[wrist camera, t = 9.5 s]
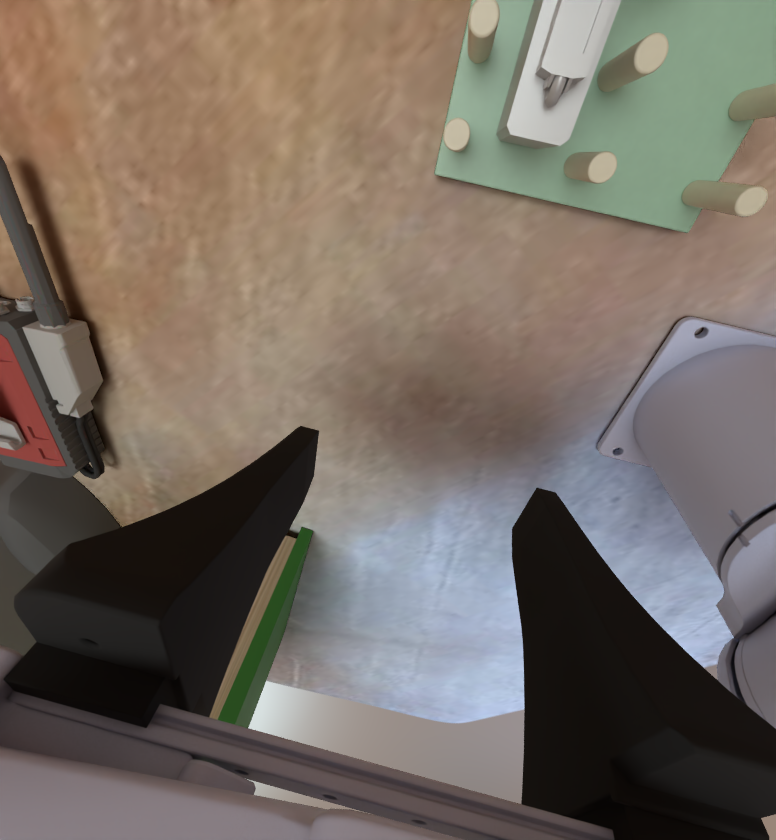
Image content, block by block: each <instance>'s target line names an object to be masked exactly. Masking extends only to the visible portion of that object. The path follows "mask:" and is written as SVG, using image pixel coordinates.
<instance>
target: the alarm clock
mask: <svg viewBox="0 0 776 840" xmlns="http://www.w3.org/2000/svg"><path fill="white" fill-rule="evenodd" d="M118 528H121V527H120V526H119V525H118V523H117V522H116V521H115V519H114V518H113V517H112V516H111V514H110V513H109V512H108V510H107V509H106V508H105V507H104V506H103V505H102V504H101V503H100V502H99V501H98V500H97V499H96V498H95V497H94V496H93V495H92V494H91V493H90V492H89V491H88V490H87V489H86V488H85V487H84V486H83V485H81V484H80V483H79V482H78V481H77V480H76V479H74V478H73V477H70V478H57V477H53V476H48V475H44V474H40V473H35V472H31V471H26V470H22V469H18V468H13V467H9V466H6V465H3V463H2V461H1V460H0V645H1V646H5V647H8V648H10V649H13V650H15V651H17V652H19V653H21V654H22V655H23V656H24V655H25V654H26V653H27V652H28V651H29V650H30V649H31V648H32V646H33V645H34V644H35V643H36V640H35V639H34V637H33V636H32V635H31V633H30V632H29V630H28V629H27V628H26V626H25V625H24V623H23V622H22V621H21V619H20V618H19V616H18V615H17V613H16V611H15V609H14V596H15V595H16V594H17V593H18V592H19V591H20V590H21V589H22V588H23V587H24V586H25V585H26V584H27V583H28V582H29V581H30V580H31V579H32V578H34V577H35V576H36V575H37V574H38V573H39V572H40V571H41V570H42V569H43V568H44V567H45V566H46V565H47V564H48V563H49V562H50V561H51V560H52V559H53V558H54V557H55V556H56V555H57V554H58V553H59V552H61V551H62V550H63V549H64V548H65V547H66V546H67V545H69V544H70V543H73V542H77V541H80V540H84V539H87V538H90V537H93V536H96V535H100V534H103V533H106V532H109V531H112V530H116V529H118Z"/></svg>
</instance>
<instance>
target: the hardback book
mask: <svg viewBox="0 0 776 840" xmlns="http://www.w3.org/2000/svg"><path fill="white" fill-rule="evenodd" d="M312 533H313V531H312V530H309V529H306V528H303V527H302V528H301V530H300V532H299V535H298V537H297V539H296V538H293V537H289V536H285V538H284V539H283V541H282V543H281V545H280V547H279V549H278V551H277V552H276V554H275V556H274V558H273V560H272V562H271V564H270V566H269V568H268V570H267V572H266V574H265V577H264V579H263V581H262V584H261V586H260V589H259V591H258V593H257V596H256V598H255V600H254V603H253V605H252V608H251V610H250V613H249V615H248V618H247V620H246V622H245V625H244V627H243V630H242V632H241V635H240V637H239V640H238V643H237V645H236V648H235V650H234V653H233V655H232V658H231V660H230V663H229V666H228V668H227V671H226V673H225V676H224V679H223V681H222V684H221V687H220V689H219V692H218V695H217V697H216V700H215V703H214V705H213V708H212V711H211V714H210V716H209V718H213V719H216V720H220V721H223V722H227V723H231V724H234V725H238V726H241V727H245V728H248V727H249V724H250V722H251V719H252V716H253V714H254V711H255V708H256V706H257V703H258V700H259V698H260V695H261V693H262V690H263V687H264V685H265V682H266V679H267V677H268V674H269V671H270V669H271V666H272V664H273V661H274V658H275V656H276V653H277V650H278V648H279V645H280V642H281V640H282V637H283V635H284V632H285V628H286V625H287V621H288V618H289V614H290V611H291V607H292V603H293V600H294V596H295V593H296V589H297V586H298V582H299V579H300V575H301V572H302V568H303V565H304V561H305V558H306V554H307V551H308V547H309V544H310V540H311V537H312Z"/></svg>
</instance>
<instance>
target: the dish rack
mask: <svg viewBox="0 0 776 840" xmlns="http://www.w3.org/2000/svg"><path fill="white" fill-rule="evenodd" d="M533 1H534V0H472V1H471V6H470V11H469V15H468V20H467V24H466V29H465V34H464V38H463V43H462V48H461V52H460V57H459V61H458V66H457V71H456V75H455V80H454V85H453V89H452V94H451V98H450V103H449V108H448V112H447V117H446V122H445V126H444V131H443V135H442V140H441V145H440V149H439V154H438V159H437V163H436V168H435V172H434V174H435V175H438V176H442V177H447V178H451V179H455V180H460V181H464V182H468V183H473V184H477V185H481V186H486V187H490V188H494V189H499V190H503V191H507V192H512V193H516V194H520V195H525V196H529V197H533V198H538V199H542V200H546V201H551V202H555V203H559V204H564V205H568V206H572V207H576V208H581V209H585V210H589V211H594V212H598V213H602V214H607V215H611V216H615V217H620V218H624V219H628V220H633V221H637V222H641V223H646V224H650V225H654V226H659V227H663V228H667V229H672V230H676V231H680V232H685V233H688V232H689V231H690V229H691V227H692V225H693V224H694V222H695V220H696V219H697V217H698V215H699V214H700V212H701V210H702V208H703V209H707V210H712V211H717V212H721V213H726V214H730V215H735V216H740V217H748V216H751V215H753V214H755V213H757V212H758V211H759V210H760V209H761V208H762V207H763V206H764V205H765V203H766V201H767V198H768V193H767V191H766V189H765V188H764V187H762V186H757V185H746V184H736V183H726V182H718V181H719V179H720V178H721V176H722V174H723V173H724V171H725V169H726V168H727V166H728V164H729V162H730V161H731V159H732V157H733V156H734V154H735V152H736V150H737V149H738V147H739V145H740V144H741V142H742V140H743V139H744V137H745V135H746V133H747V132H748V130H749V128H750V127H751V125H752V123H753V121H754V120H755V119H759V118H767V117H775V116H776V0H621V2H620V5H619V8H618V10H617V13H616V16H615V19H614V21H613V24H612V27H611V29H610V32H609V35H608V37H607V40H606V43H605V45H604V48H603V51H602V53H601V56H600V59H599V61H598V64H597V67H596V69H595V72H594V75H593V77H592V80H591V83H590V85H589V88H588V91H587V93H586V96H585V99H584V101H583V104H582V107H581V109H580V112H579V115H578V117H577V120H576V123H575V125H574V128H573V131H572V133H571V136H570V139H569V140H568V141H567V142H565V143H564V144H562V145H561V146H556V147H548V148H540V149H534V148H530V147H526V146H521V145H517V144H513V143H508V142H504V141H500V140H499V139H498V137H497V134H496V132H497V129H498V125H499V122H500V118H501V115H502V111H503V108H504V104H505V101H506V97H507V94H508V90H509V86H510V83H511V79H512V76H513V72H514V69H515V65H516V62H517V58H518V55H519V51H520V47H521V44H522V40H523V37H524V33H525V30H526V26H527V23H528V19H529V16H530V12H531V9H532V5H533Z"/></svg>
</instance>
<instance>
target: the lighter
mask: <svg viewBox="0 0 776 840" xmlns="http://www.w3.org/2000/svg"><path fill="white" fill-rule="evenodd" d="M620 2H621V0H534V1H533V5H532V9H531V12H530V16H529V19H528V23H527V26H526V30H525V33H524V37H523V40H522V44H521V47H520V51H519V55H518V58H517V62H516V65H515V69H514V72H513V76H512V79H511V83H510V86H509V90H508V94H507V97H506V101H505V104H504V108H503V111H502V115H501V118H500V122H499V125H498V129H497V132H496V134H497V137H498V139H499V140H500V141H504V142H508V143H513V144H517V145H521V146H526V147H530V148H534V149H540V148H548V147H556V146H561V145H562V144H564V143H565V142H567V141H568V140H569V139H570V136H571V133H572V131H573V128H574V125H575V123H576V120H577V117H578V115H579V112H580V109H581V107H582V104H583V101H584V99H585V96H586V93H587V91H588V88H589V85H590V83H591V80H592V77H593V75H594V72H595V69H596V67H597V64H598V61H599V59H600V56H601V53H602V51H603V48H604V45H605V43H606V40H607V37H608V35H609V32H610V29H611V27H612V24H613V21H614V19H615V16H616V13H617V10H618V8H619V5H620Z"/></svg>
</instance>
